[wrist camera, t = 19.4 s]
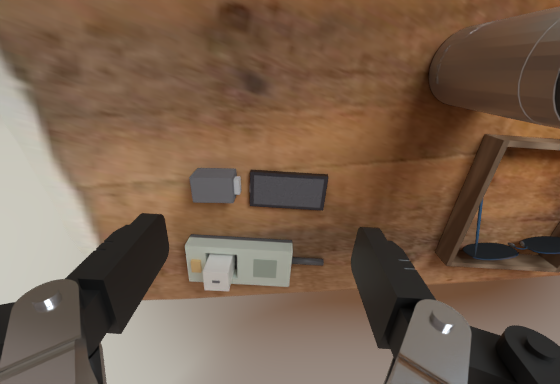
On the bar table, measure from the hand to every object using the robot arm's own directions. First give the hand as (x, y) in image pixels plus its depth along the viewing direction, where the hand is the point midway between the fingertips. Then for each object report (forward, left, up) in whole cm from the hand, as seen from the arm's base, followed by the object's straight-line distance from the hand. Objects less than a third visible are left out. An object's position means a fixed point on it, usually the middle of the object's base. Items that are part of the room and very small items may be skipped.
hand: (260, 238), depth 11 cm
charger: (+8, +25, -27) cm, 38 cm away
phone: (-2, +11, -28) cm, 31 cm away
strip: (+2, +25, -28) cm, 38 cm away
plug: (+9, +10, -28) cm, 31 cm away
